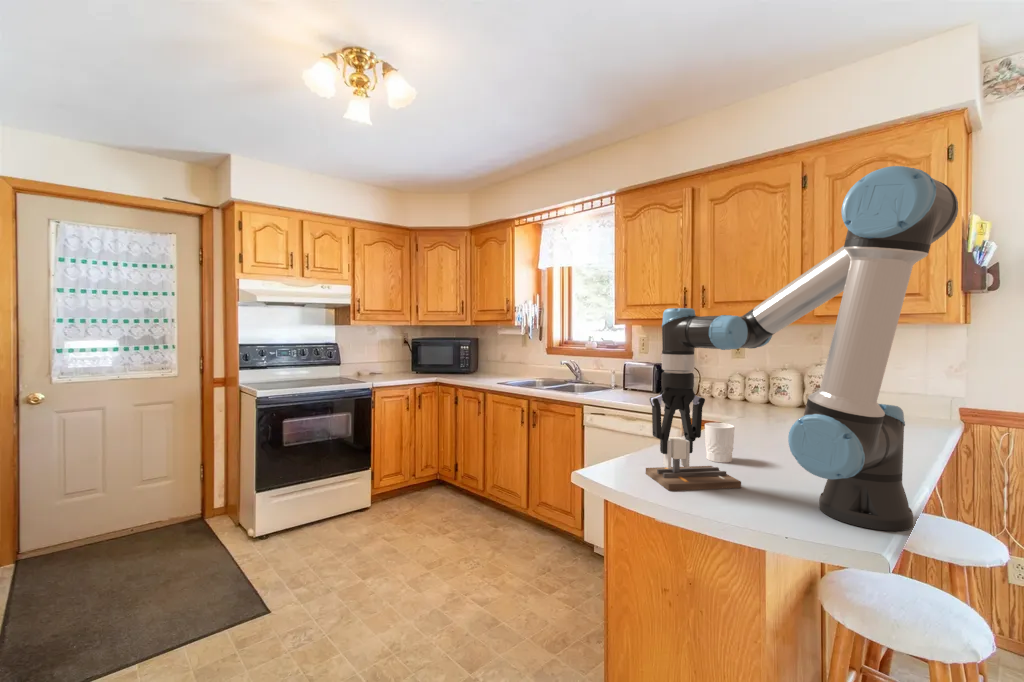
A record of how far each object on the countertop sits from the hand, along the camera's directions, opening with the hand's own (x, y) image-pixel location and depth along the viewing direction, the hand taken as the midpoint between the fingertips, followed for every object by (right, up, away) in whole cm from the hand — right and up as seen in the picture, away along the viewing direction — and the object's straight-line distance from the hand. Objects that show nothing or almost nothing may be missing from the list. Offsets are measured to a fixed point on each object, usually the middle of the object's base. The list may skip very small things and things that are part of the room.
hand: (676, 466), depth 117 cm
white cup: (+19, -4, +20) cm, 28 cm away
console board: (+4, -4, +1) cm, 5 cm away
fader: (0, -2, 0) cm, 2 cm away
